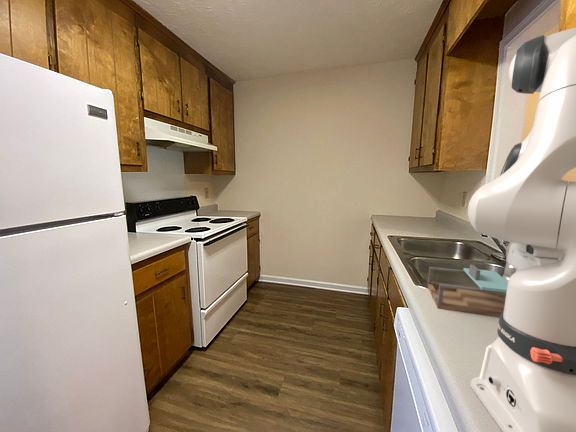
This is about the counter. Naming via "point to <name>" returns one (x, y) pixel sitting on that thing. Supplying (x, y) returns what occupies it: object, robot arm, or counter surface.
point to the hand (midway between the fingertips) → (526, 288)
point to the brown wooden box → (465, 297)
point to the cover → (487, 279)
